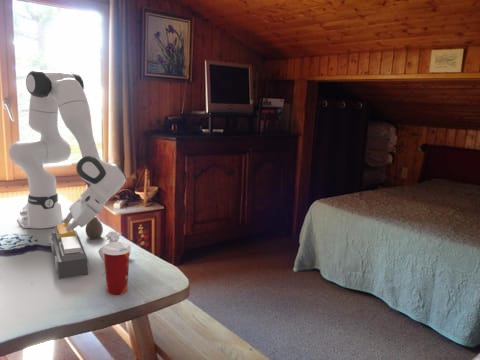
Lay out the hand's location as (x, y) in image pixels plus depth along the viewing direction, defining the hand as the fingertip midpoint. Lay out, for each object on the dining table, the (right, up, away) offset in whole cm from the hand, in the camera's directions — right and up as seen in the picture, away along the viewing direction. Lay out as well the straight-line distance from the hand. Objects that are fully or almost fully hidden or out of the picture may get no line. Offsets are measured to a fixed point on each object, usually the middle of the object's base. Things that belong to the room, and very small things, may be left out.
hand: (65, 226), depth 152 cm
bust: (+19, -12, -1) cm, 22 cm away
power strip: (+3, -12, -5) cm, 13 cm away
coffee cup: (+27, -17, -26) cm, 41 cm away
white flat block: (+8, -5, -14) cm, 17 cm away
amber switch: (0, -2, 0) cm, 2 cm away
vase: (+4, -7, +19) cm, 21 cm away
